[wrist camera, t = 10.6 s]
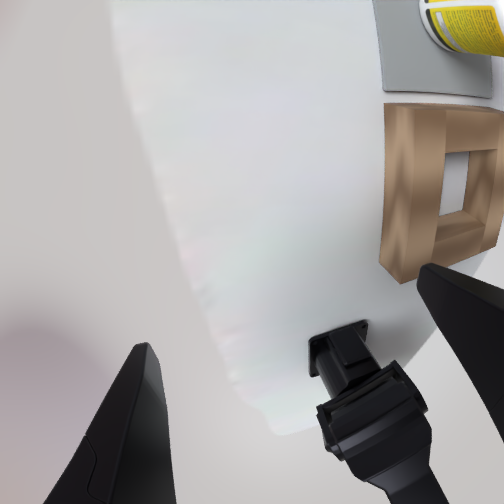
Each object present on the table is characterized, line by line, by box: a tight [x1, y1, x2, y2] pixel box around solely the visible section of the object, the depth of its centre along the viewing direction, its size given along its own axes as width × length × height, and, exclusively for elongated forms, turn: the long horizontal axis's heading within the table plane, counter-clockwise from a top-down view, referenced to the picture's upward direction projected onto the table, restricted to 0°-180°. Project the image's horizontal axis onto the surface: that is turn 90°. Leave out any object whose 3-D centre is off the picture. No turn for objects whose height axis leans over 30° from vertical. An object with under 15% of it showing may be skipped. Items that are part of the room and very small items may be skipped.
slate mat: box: [373, 0, 492, 98], centre depth 16 cm, size 14×14×1 cm
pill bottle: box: [419, 0, 504, 57], centre depth 11 cm, size 6×6×11 cm
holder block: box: [379, 103, 504, 284], centre depth 22 cm, size 14×14×4 cm
